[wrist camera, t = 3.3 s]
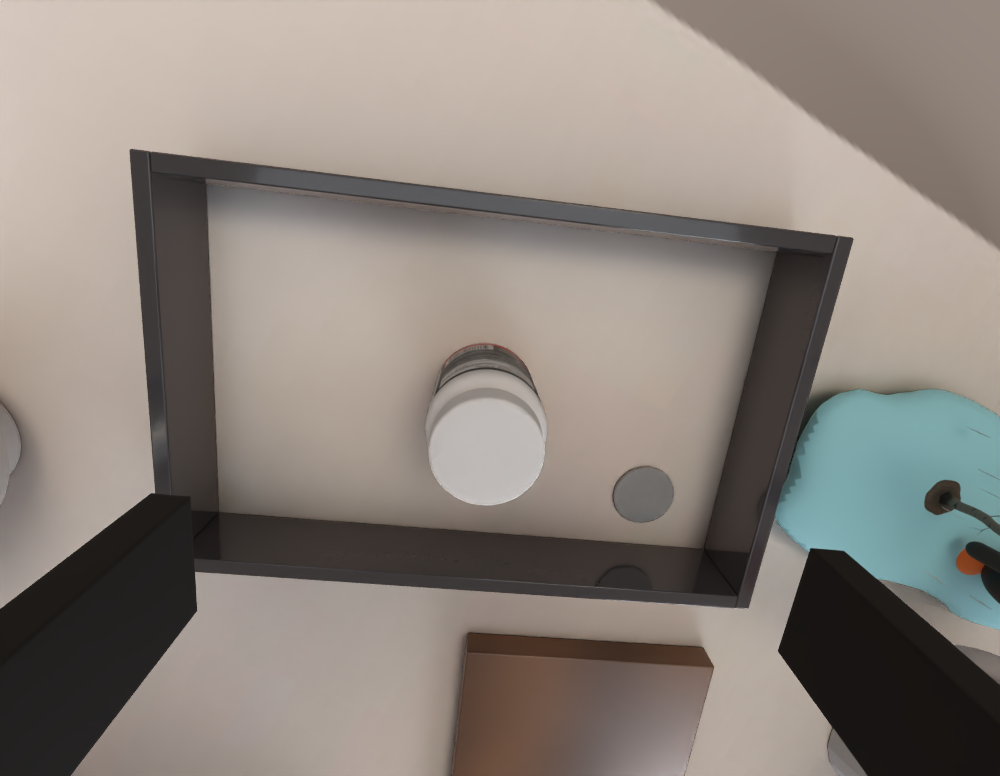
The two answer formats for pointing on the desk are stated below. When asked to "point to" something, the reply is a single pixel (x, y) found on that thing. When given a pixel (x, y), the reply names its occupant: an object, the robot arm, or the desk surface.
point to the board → (577, 707)
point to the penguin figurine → (905, 496)
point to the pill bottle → (485, 426)
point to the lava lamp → (842, 757)
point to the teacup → (7, 449)
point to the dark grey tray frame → (463, 554)
